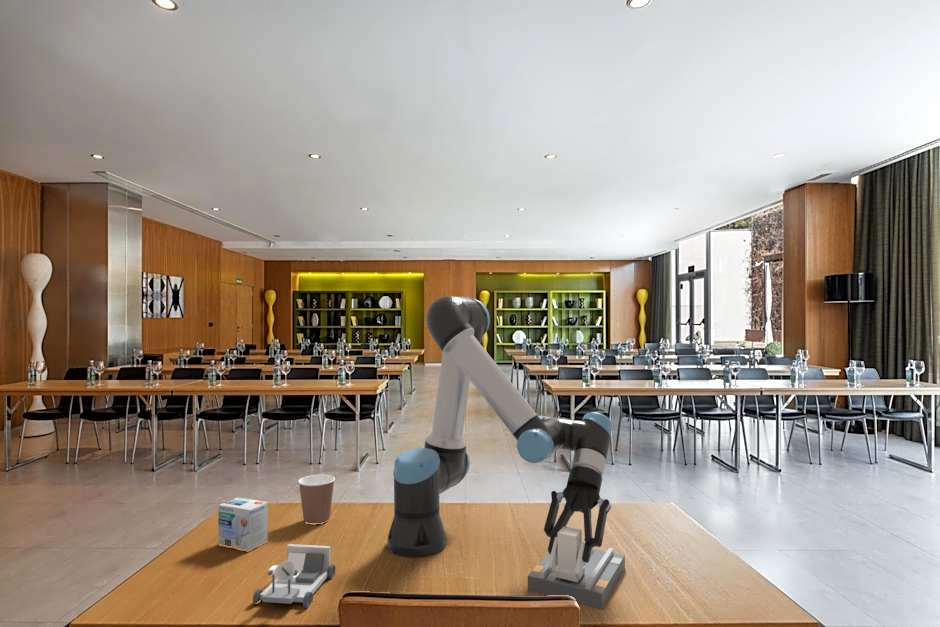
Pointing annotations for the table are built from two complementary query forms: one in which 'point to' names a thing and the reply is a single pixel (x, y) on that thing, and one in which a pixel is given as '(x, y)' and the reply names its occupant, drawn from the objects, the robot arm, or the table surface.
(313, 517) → the coffee cup
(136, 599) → the table surface
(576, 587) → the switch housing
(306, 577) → the toy car
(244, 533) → the light bulb box
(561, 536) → the switch slider
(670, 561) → the table surface
